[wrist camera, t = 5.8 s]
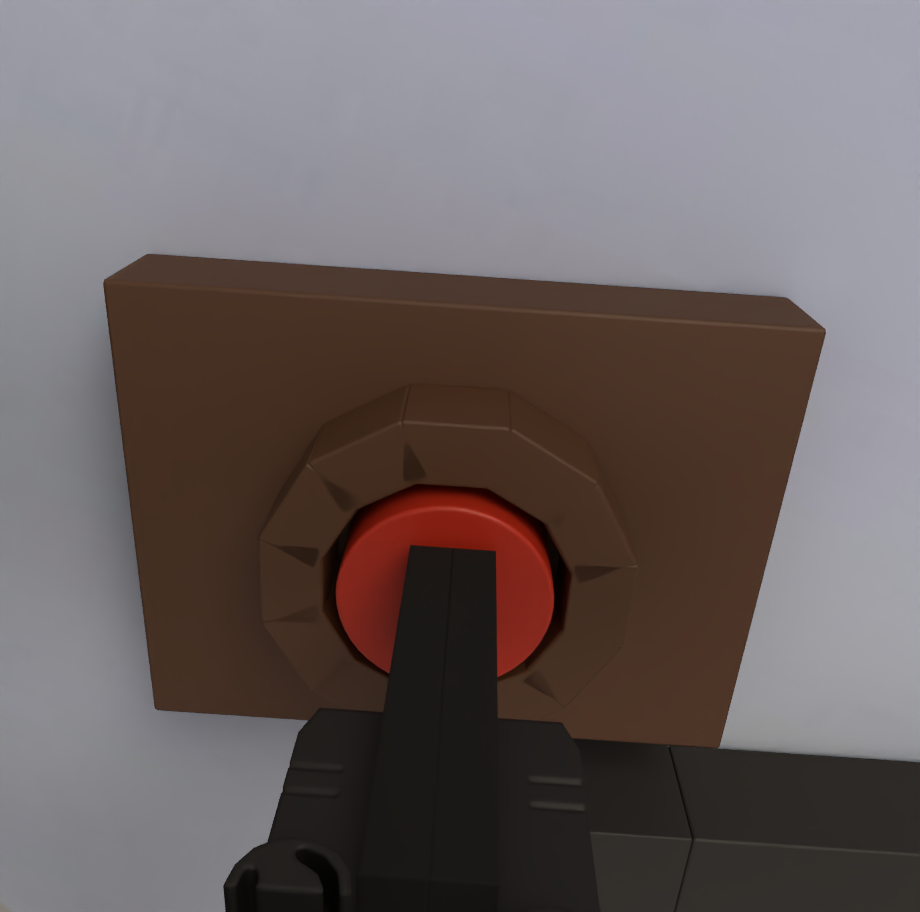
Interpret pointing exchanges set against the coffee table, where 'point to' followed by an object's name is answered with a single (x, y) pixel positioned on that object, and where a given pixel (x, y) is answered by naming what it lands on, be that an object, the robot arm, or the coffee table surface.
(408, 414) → the brown button base
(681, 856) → the holder
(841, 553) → the coffee table surface
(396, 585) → the button
